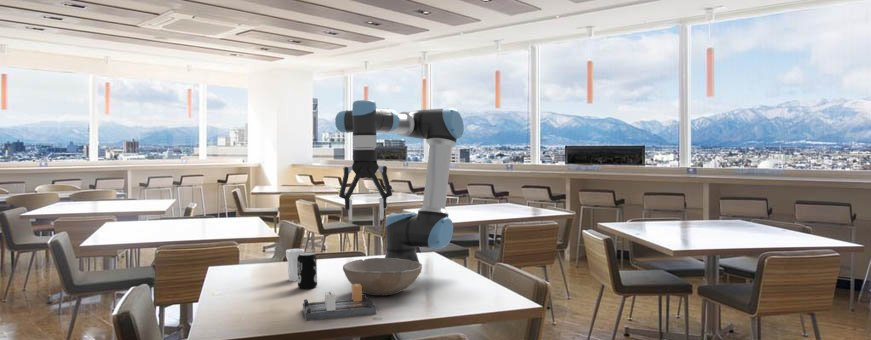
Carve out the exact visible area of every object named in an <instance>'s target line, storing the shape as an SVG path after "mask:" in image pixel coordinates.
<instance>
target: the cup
mask: <svg viewBox="0 0 871 340" xmlns="http://www.w3.org/2000/svg"><path fill="white" fill-rule="evenodd" d="M303 252H305V249H304V248H290V249H285V256H286V259H287V270H288V272H287V273H288V280H289V282H298V269H297V258H298V256H299V255H298V254H299V253H303Z"/></svg>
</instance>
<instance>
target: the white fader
mask: <svg viewBox="0 0 871 340" xmlns="http://www.w3.org/2000/svg"><path fill="white" fill-rule="evenodd" d="M324 301H325V308H326V310H327V311H333V310H336V303H335V301H336V294H335V291H327V292H326V291H325V292H324Z"/></svg>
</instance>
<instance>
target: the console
mask: <svg viewBox="0 0 871 340" xmlns="http://www.w3.org/2000/svg"><path fill="white" fill-rule="evenodd" d="M335 303H336V310H333V311H327V310H326V308H325V300H323V301H316V302H315V301H313V302H309V300H308V299H303V303H302V311H303V315H304V318H305V321H317V320H329V319H339V318H348V317H349V318H350V317H359V316H370V315H371V316H372V315H377V314H378V313H377V306H376V305H375V303H374V302H373V301H372V300H371V298H370V297H367V295H366V294H362V301H353V300H352V298H350V299H349V298H348V299H335Z"/></svg>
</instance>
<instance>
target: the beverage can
mask: <svg viewBox="0 0 871 340" xmlns="http://www.w3.org/2000/svg"><path fill="white" fill-rule="evenodd" d="M298 255H299V256H298V258H297V269H298V281H297V287H298V288H299V290H300V289H301V290H312V289H315V288H316V287H317V286H318V268H317V267H318V263H317V261H318V260H317V255H316V252H313V251H304V252H303V253H299V254H298Z"/></svg>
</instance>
